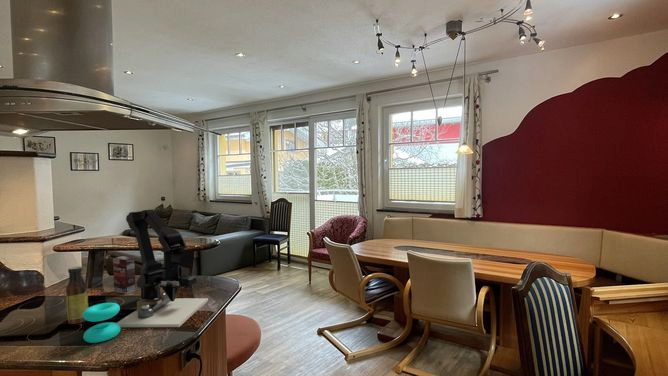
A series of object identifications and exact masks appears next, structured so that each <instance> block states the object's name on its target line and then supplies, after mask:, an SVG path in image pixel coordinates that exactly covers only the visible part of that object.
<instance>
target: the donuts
mask: <svg viewBox="0 0 668 376" xmlns="http://www.w3.org/2000/svg"><path fill="white" fill-rule="evenodd" d="M120 309H121V307H120V305H119V304H118V303H116V302H103V303H97V304H94V305H92V306H88V308H87V309H86V310H85V311H84V312H83V318H84V319H85V320H86V322H95V323H96V322H101V323H98V324H96V325H93V326H90V327H89V328H87V329H86V331H84V334H83V340H84V341H85V342H87V343H90V344H91V343H92V344H94V343H103V342H105V341H108V340H111V339H114V338H115V337H116V336H118V334H120V333H121V328H122V327H120V326H119V325H118V324H117V322H113V321H112V322H111V321H109V322H102V321H106V320H109V319H112V318H113V317H115V316H116V315H118V313H119V312H120Z"/></svg>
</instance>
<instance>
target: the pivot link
mask: <svg viewBox="0 0 668 376" xmlns="http://www.w3.org/2000/svg"><path fill="white" fill-rule="evenodd" d="M158 299H162V302H160V303H159V304H155V305H149V304H145V305H142V308H141V309H139V310H138V318H140V319H144V318H149V317H151V316H153V313H154V312H156V311H157V310H159V309H160V308H161V307H163V306H164V305H166V304H167V303H169V302H170V301H171V300H170V299H169V297H168V296H167V294H163V295H161V297H160V298H158Z"/></svg>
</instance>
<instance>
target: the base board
mask: <svg viewBox="0 0 668 376" xmlns="http://www.w3.org/2000/svg"><path fill="white" fill-rule="evenodd" d="M208 301H209V298H208V297H205V298H204V297H201V298H197V297H196V298H194V297H193V298H191V297H190V298H189V297H188V298H185V297H183V298H175V300H174V301H173V302H172V301H170V302H169V303H167V304H166V305H164V306H163V307H161V308H160V309H159V310H157V311H156V312H154V313H153V316H151V317H149V318H144V319H140V318H138V312H137V309H136V310H135V311H133V312H131V313H130V314H128V315H127V316H125V317H123V318H122V319H120V320H119V321H117V322H116V323H117V324H118V325H119V326H120V328H180V327H181V326H182V325H183V324H185V322H186V321H188V320H189V319H190V317H192V316H193V315H194V314H195V313H196V312H197V311H198V310H200V309H201V308H202V307H203V306H204V305H205V304H206V303H207V302H208Z"/></svg>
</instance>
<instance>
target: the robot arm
mask: <svg viewBox="0 0 668 376" xmlns="http://www.w3.org/2000/svg"><path fill="white" fill-rule="evenodd" d="M125 220H126V223H127V224H128V228H129V229H130V230H131V231H133V232H134V234H135V237H136V243H137V247H138V250H139V253H140V254H139V255H140V257H141V258H140V259H141V262H142V266H141V268H140V271H139V272H140V273H139V274H140V276H139V277H138V279H137V281H136V286H137V288H140V296H141V297H140V299H139V300H141V299H159V298H160V297H162V294H161V288H162V290H163V291H164V293H165V295H167V296H168V297H169V299H170V300H171V301H172V302H173V301H174V300H175V299H177V298H176V297H177V294H178V292H179V289H180V287H184V288H185V287H186V288H187V287H190V286H192V285H194V284H196V283H197V281H198V280H197V276H196V275H189V273H190V268H188V267H189V266H190V265H191V264H192V263H193V261H194V255H193V253H192V252H191V251H190V250H189V247H188V246H187V243H186V242H185V240H184V238H183V236H182V234H181V232H180V231H178V230H177V229H175V228H172V227H170V226H168V224H167V223H165V221H164V220H163V219H162V218H161V217H160V216H159V215H158V214H157V212H156V210H155V209H154V208H153V209H152V208H151V209H143V210H140V211H139V210H138V211H131V212H130V211H129V212H128V214H127V215H126V218H125ZM149 227H150V228H151V229H152V230H153V231H154V232H155V233H156V235H157V236H158V237H157V241H158V242H159V244H160V245H161V247H162V248H161V249H160V252H161V253H163V254H162V255H163V264H162V263H161V262H158V261H157V259H156V257H155V253H154V250H153V245H152V241H151V237H150V234H149V233H150V232H149Z"/></svg>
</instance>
